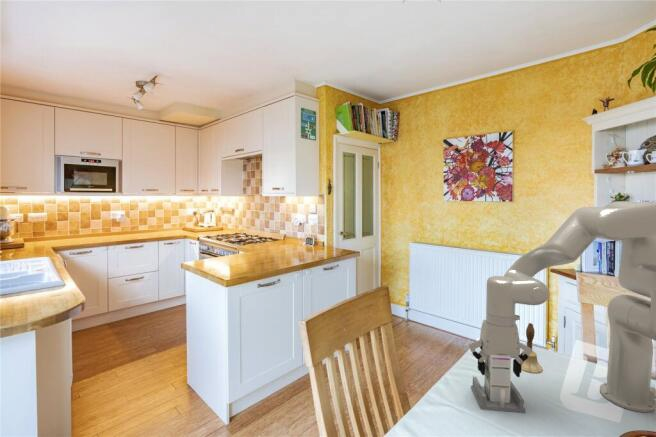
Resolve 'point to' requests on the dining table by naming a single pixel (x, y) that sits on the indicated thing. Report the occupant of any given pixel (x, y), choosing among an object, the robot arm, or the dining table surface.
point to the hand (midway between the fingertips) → (499, 373)
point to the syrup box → (497, 376)
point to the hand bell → (531, 362)
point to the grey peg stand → (513, 406)
